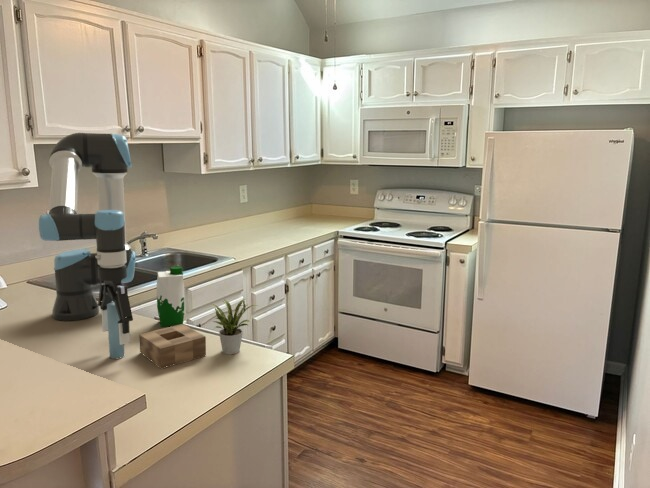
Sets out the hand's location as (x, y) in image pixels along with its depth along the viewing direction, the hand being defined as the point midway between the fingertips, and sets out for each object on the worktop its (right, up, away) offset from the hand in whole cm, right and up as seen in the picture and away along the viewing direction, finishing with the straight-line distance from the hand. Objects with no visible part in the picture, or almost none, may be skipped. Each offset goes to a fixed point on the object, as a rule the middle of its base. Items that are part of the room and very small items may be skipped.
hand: (116, 336), depth 142 cm
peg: (0, -6, +1) cm, 6 cm away
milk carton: (+7, -1, +30) cm, 30 cm away
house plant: (+33, -6, +8) cm, 35 cm away
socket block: (+15, -6, +4) cm, 17 cm away
